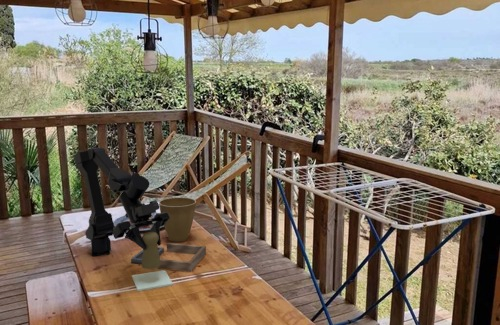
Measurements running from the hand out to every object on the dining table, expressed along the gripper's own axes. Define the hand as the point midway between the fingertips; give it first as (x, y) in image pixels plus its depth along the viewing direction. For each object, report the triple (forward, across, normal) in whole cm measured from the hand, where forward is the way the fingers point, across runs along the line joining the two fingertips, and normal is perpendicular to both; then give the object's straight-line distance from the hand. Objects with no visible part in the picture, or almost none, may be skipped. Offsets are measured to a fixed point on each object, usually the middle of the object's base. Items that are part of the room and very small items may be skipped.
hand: (152, 247), depth 142 cm
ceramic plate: (-28, +30, +46) cm, 62 cm away
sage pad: (+8, 0, +9) cm, 12 cm away
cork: (+4, 0, +6) cm, 7 cm away
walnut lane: (+2, +16, +15) cm, 22 cm away
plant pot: (-10, +30, +28) cm, 42 cm away
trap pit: (-5, +10, +22) cm, 25 cm away
